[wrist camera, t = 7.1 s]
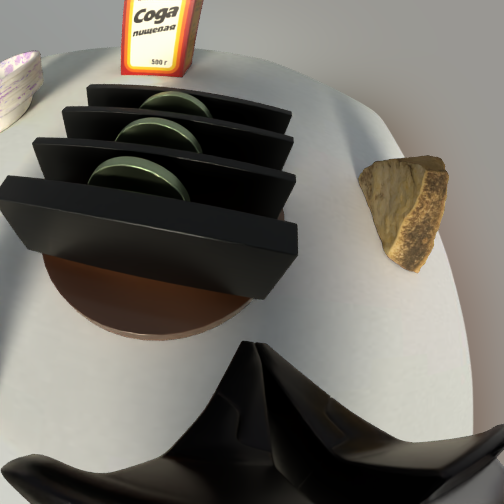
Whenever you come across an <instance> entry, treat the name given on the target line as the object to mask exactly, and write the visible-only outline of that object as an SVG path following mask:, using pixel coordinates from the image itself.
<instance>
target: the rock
mask: <svg viewBox="0 0 504 504" xmlns="http://www.w3.org/2000/svg"><path fill="white" fill-rule="evenodd" d="M358 180H359V184H360V186H361V189H362V190H363V193H364V195H365V197H366V201H367V203H368V206H369V207H370V210H371V213H372V215H373V220H374V223H375V226H376V229H377V232H378V234H379V236H380V239H381V240H382V245H383V249H384V251H385V253H386V254H387V256H388V258H390V259H391V260H393V261H394V262H396V263H397V264H399V265H400V266H401V267H403V268H404V269H406V270H409V271H414V272H416V273H418V272H419V271H420V268H421V267H422V266H423V265H424V264H425V262H426V260H427V258H428V256H429V254H430V253H431V251H432V248H433V246H434V239H435V236H436V233H437V231H438V229H439V226H440V222H441V219H442V216H443V212H444V208H445V201H446V198H447V183H448V180H449V175H448V173H447V171H446V170H445V164H444V162H443V161H442V159H441V158H438V157H433V156H429V155H427V156H419V157H409V158H398V159H389V160H383V161H376V162H374V163H373V164H372V165H371V166H369V167H367V168H364V170H363V172H362V173H361V174H360V176H359V178H358Z"/></svg>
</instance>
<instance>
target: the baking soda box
mask: <svg viewBox="0 0 504 504" xmlns="http://www.w3.org/2000/svg"><path fill="white" fill-rule="evenodd" d="M202 5H203V0H125V1H124V12H123V24H122V43H121V75H157V76H173V77H183V75H184V74H185V72H186V71H187V69H188V68H189V67H190V65H191V64H192V58H193V52H194V46H195V40H196V34H197V29H198V23H199V19H200V14H201V9H202Z"/></svg>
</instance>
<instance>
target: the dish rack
mask: <svg viewBox="0 0 504 504" xmlns="http://www.w3.org/2000/svg"><path fill="white" fill-rule="evenodd" d="M86 89H87V98H88V106H68V107H65V108H64V109H63V110H62V115H63V120H64V125H65V129H66V133H67V138H45V137H37V138H36V139H35V140H34V142H33V143H32V145H33V148H34V151H35V154H36V157H37V159H38V162H39V165H40V167H41V170H42V172H43V175H44V177H45V179H39V178H30V177H20V176H10V175H8V176H7V177H6V179H5V180H4V182H3V183H2V185H1V186H0V210H1V212H2V213H3V215H4V216H5V218H6V220H7V221H8V222H9V224H10V225H11V227H12V228H13V230H14V231H15V233H16V234H17V235H18V237H19V238H20V239H21V241H22V242H23V244H24V245H25V246H26V247H27V249H29V250H33V251H36V252H40V253H44V254H47V255H51V256H55V257H58V258H62V259H66V260H70V261H74V262H78V263H82V264H86V265H90V266H94V267H98V268H102V269H107V270H111V271H115V272H120V273H124V274H129V275H133V276H138V277H142V278H147V279H152V280H157V281H162V282H166V283H171V284H177V285H182V286H187V287H192V288H197V289H203V290H208V291H214V292H219V293H225V294H231V295H237V296H243V297H249V298H255V299H262V300H264V299H265V298H266V297H267V295H268V294H269V293H270V291H271V290H272V289H273V288H274V286H275V285H276V284H277V282H278V281H279V280H280V278H281V277H282V276H283V274H284V273H285V272H286V271H287V269H288V268H289V267H290V265H291V264H292V263H293V261H294V260H295V259H296V257H297V256H298V228H297V224H296V223H292V222H287V221H283V220H278V217H279V215H280V213H281V211H282V209H283V207H284V205H285V203H286V201H287V199H288V197H289V195H290V193H291V191H292V189H293V187H294V185H295V183H296V175H295V174H291V173H287V172H283V171H282V169H283V166H284V164H285V162H286V159H287V157H288V155H289V152H290V150H291V148H292V146H293V143H294V139H293V137H291V136H287V135H284V134H285V132H286V129H287V127H288V124H289V122H290V119H291V117H292V112H291V111H288V110H284V109H280V108H277V107H273V106H269V105H265V104H261V103H257V102H252V101H248V100H243V99H239V98H234V97H229V96H224V95H218V94H212V93H206V92H200V91H193V90H185V89H177V88H168V87H157V86H144V85H122V84H90V85H89V86H88V87H87V88H86Z"/></svg>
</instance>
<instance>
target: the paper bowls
mask: <svg viewBox="0 0 504 504" xmlns="http://www.w3.org/2000/svg"><path fill="white" fill-rule="evenodd" d="M40 55H41V54H40V52H39V51H29V52H25V53H21V54H18V55H15V56H13V57H11V58H8V59H6V60H4V61H2V62H0V132H2V131H3V130H5V129H6V128H8V127H9V126H10V125H12V124H13V123H14V122H16V121H17V120H18V119H19V118H20V117H21V116H22V115H23V114H24V113H25V112H26V110H27V109H28V107H29V106H30V103H31V101H32V96H33V94H34V93H35V92H36V91H37V90H38V89H39V88H40V87H41V86H42V84H43V73H42V66H41V57H40Z"/></svg>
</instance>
